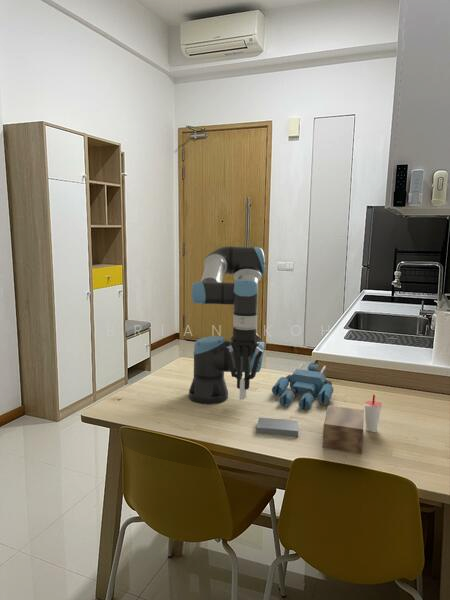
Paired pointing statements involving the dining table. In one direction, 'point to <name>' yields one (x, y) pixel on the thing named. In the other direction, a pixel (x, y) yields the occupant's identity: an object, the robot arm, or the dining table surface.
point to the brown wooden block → (343, 429)
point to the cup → (372, 414)
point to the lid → (277, 427)
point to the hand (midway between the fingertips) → (242, 398)
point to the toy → (304, 387)
